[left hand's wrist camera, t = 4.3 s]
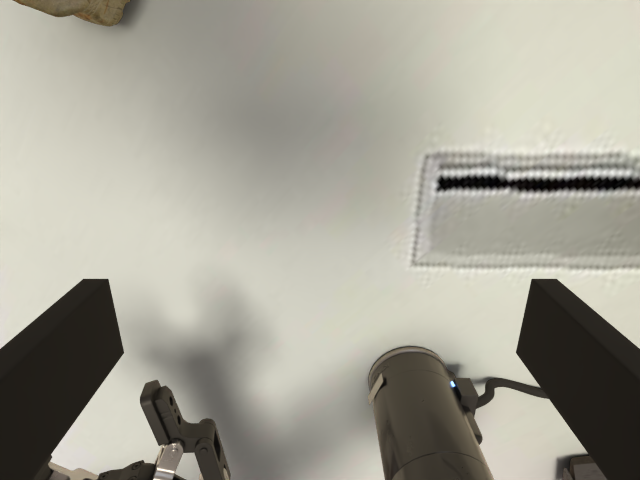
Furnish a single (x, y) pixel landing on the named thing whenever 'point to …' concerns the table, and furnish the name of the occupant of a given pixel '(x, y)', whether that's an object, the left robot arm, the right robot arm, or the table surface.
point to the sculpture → (81, 9)
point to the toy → (583, 470)
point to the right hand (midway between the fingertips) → (81, 407)
